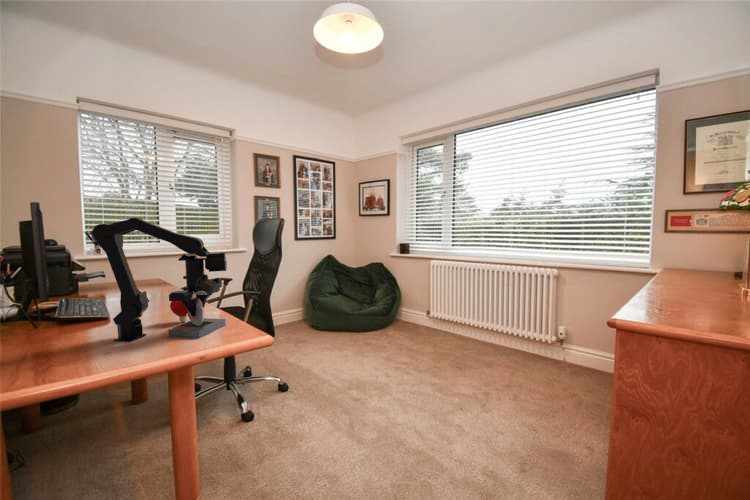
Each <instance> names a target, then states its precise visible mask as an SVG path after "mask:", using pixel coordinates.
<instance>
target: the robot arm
mask: <svg viewBox="0 0 750 500" xmlns="http://www.w3.org/2000/svg"><path fill="white" fill-rule="evenodd" d="M135 231H137V232H140V233H143V234H146V235H148V236H151V237H153V238H156V239H159V240H161V241H165V242H167V243H170V244H171V245H173V246H175V247H176V248H178V249H180V250H182V251H183V252H185V253H183V254H182V255H181V256H180V257H179V258H178V259H177V260H178V262H181V261H183V262H185V263H184V264H185V275H183V276H182V280H185V282H186V286H184V287H183V290H176V291H172V292H170V293H169V294H168V301H169V302H171V301H182V302H183V304H184V305H185V306H186V308H187V309H188V311H189V312H190V314H191V315H192V316H193V317H195V316H196V302H197V301H198V299H199V300H200V301H201V302H202V307H203V308H204V309H205V305H206V303H207V301H208V299H209V297H211V296H212V295H213V294H214V293H218V292H219V291H221V290H220V288H222V287H223V285H222V284H223V281H222V279H221V278H220V277H216V278H214V279H209V277H208V274H205V270H206V271H207V270H208V272H210V273H211V272H212V273H213V272H226V271H228V270H227V268H228V265H227V263H228V262H227V261H228V260H227V257H226V252H219V253H218V252H217V253H216V252H215V253H211V252H209V250H207V248H206V247H205V243H204V241H203V240H202V239H201V238H199V237H195V236H191V235H186V234H182V233H177V232H174V231H173V230H172V231H171V230H169V229H167V228H164V227H161V226H159V225H156V224H154V223H151V222H148V221H146V220H144V219H143V218H140V217H130V218H129V219H125V220H121V221H117V222H112V223H99V224H96V225H95V226H94V227H93V229H92V230H91V236H92V238H93V239H94V241H95V242H96V243H97V245H98V246H99V247H100V248H101V249H102V250H103V251H104V253H105V255H106V257H107V259H108V263H109V265H110V268H111V270H112V273H113V276H114V279H115V281H116V284H117V287H118V290H119V291H120V300H119V305H120V312H119V313H118V314H117V315H116V316H114V318H112V321H113V323H114V325H116V327H117V338H114V339H113V341H114V342H132V341H135V340H137V339H140V338H143V337H146V336H147V333H143V332H144V331H143V330H144V329H143V323H142V319H141V317H142V316H143V314H144V313H145V312H146V311H147V310H148V307H149V302H150V301H151V300H149V298H148V295H147V291H146V290H143V291H140V290H139V288H138V287H137V285H136V282H135V279H134V277H133V272H132V271H131V269H130V268H131V267H130V266H129V262H128V260H127V257H126V254H125V252H124V236H125V235H126V234H130V233H133V232H135ZM188 254H189V255H188Z"/></svg>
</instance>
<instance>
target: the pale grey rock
mask: <svg viewBox="0 0 750 500" xmlns="http://www.w3.org/2000/svg"><path fill="white" fill-rule="evenodd" d="M186 315H187V318H188V319H189V321H191V322H192V323H193V324H195V325H198V326H200V325H201V324H202V323H203V320H204V318H205V307H204V308H203V307H202V302H201V301H200V300H199V299H198V301H197V302H196V316H195V317H193V316H192V315H191V314H190V312H189V311H188V313H187V314H186Z"/></svg>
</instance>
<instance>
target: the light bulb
mask: <svg viewBox="0 0 750 500" xmlns="http://www.w3.org/2000/svg"><path fill="white" fill-rule="evenodd" d="M169 307H170V310H171V312H172V313H173V314H174V315H176V316H177V317H178V318H179V322H181V324H184V323H186V322H187V321H188V315H187V313H188V309H187V308H186V306H185V305H184V304H183V302H182V301H170V305H169Z"/></svg>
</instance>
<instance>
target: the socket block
mask: <svg viewBox="0 0 750 500" xmlns="http://www.w3.org/2000/svg"><path fill="white" fill-rule="evenodd" d="M225 325H226V319H225V318H210V317H209V318H207V317H204V320H203V323H202V324H201V325H200V326H198V325H195V324H193V323H192V322H191V320H189V321H185V322H184V323H181V324H179V325H176V326H174V327H172V328H169V329H167V332H168V333H167V335H168V338H169V337H170V338H186V339H187V338H188V339H201V338H203V337H205V336H207V335H209V334H211V333H213V332H216V331H217V330H219V329H221V328H224V327H225ZM223 326H224V327H223Z"/></svg>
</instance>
